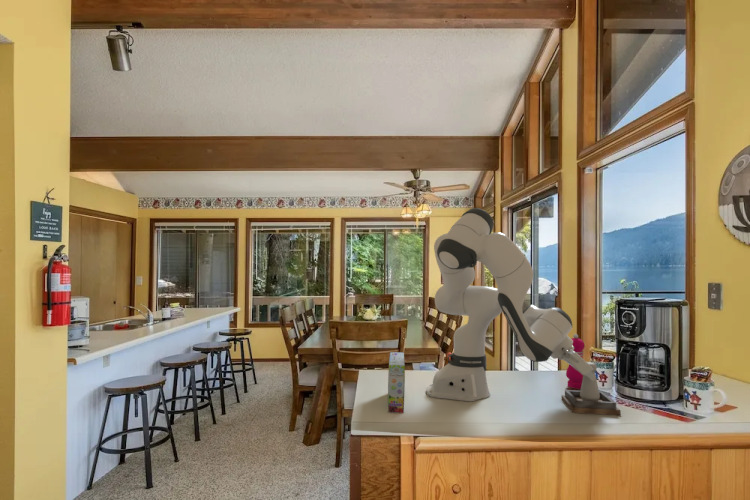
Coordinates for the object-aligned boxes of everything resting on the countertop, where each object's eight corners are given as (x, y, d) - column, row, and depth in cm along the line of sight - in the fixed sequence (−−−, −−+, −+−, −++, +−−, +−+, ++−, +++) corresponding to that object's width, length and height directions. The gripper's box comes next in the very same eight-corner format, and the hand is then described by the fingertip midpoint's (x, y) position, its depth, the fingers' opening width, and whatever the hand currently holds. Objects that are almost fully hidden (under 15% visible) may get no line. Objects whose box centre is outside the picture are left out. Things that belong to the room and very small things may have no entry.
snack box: (405, 413, 134) (405, 365, 134) (387, 413, 134) (387, 364, 135) (404, 393, 155) (404, 351, 155) (388, 392, 155) (388, 351, 156)
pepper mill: (563, 386, 163) (562, 333, 164) (571, 382, 168) (570, 331, 169) (582, 390, 158) (581, 336, 159) (590, 386, 163) (589, 334, 163)
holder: (572, 412, 134) (572, 401, 134) (561, 399, 147) (561, 389, 147) (620, 415, 132) (620, 403, 132) (605, 401, 145) (604, 391, 145)
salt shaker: (602, 406, 136) (601, 365, 136) (583, 405, 137) (582, 364, 137) (596, 400, 141) (595, 361, 142) (577, 399, 142) (577, 360, 143)
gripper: (575, 344, 131) (610, 378, 129) (558, 334, 151) (588, 363, 149) (560, 359, 132) (594, 392, 130) (545, 346, 152) (574, 375, 150)
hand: (591, 376), depth 140 cm, fingers open, 5 cm apart
